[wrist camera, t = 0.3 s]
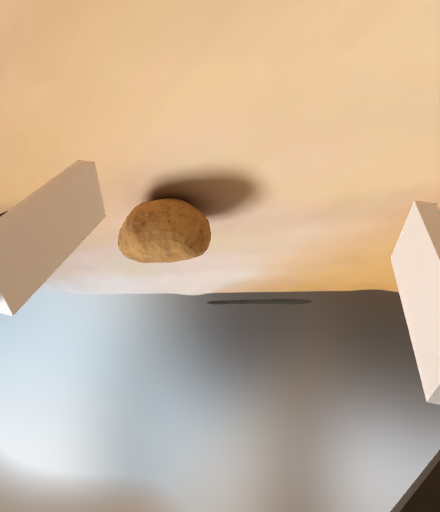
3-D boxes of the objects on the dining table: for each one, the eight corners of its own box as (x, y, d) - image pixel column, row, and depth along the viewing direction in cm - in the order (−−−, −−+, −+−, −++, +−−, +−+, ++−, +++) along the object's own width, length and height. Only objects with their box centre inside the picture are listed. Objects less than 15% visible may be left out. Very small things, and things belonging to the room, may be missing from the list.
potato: (106, 198, 47) (90, 252, 44) (184, 171, 39) (170, 235, 36) (157, 229, 54) (146, 278, 51) (232, 213, 46) (223, 269, 43)
